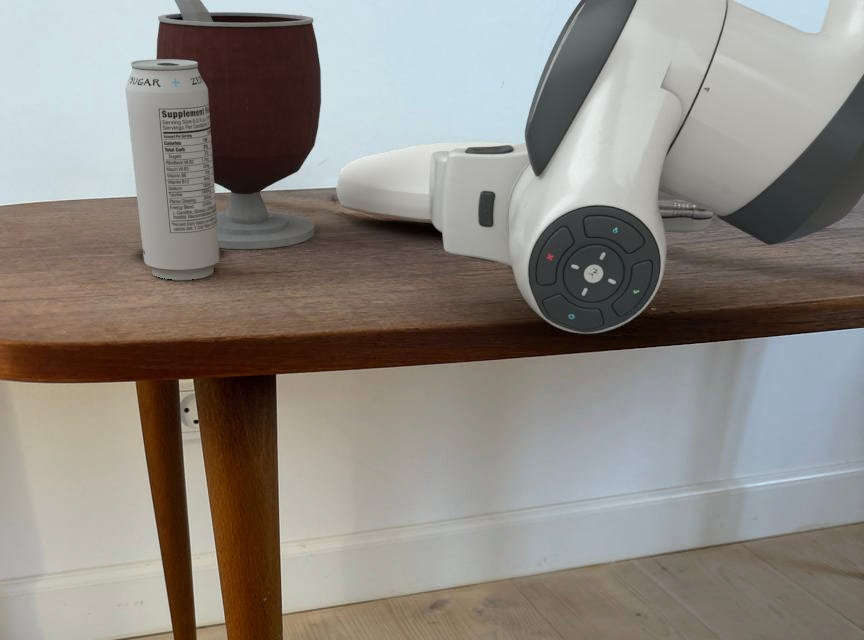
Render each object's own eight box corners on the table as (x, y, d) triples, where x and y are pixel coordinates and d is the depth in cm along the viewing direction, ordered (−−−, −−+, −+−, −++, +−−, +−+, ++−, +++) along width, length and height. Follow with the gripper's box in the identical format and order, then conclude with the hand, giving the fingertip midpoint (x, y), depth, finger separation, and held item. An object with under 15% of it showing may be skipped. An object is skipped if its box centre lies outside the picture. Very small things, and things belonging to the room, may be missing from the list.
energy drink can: (192, 258, 89) (175, 56, 81) (235, 273, 85) (222, 63, 77) (131, 270, 86) (106, 61, 77) (172, 286, 82) (151, 68, 74)
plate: (285, 171, 96) (403, 133, 117) (294, 245, 100) (407, 196, 120) (584, 164, 85) (657, 123, 106) (583, 248, 89) (653, 193, 109)
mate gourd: (352, 229, 99) (352, -23, 87) (257, 260, 89) (243, -19, 78) (227, 206, 106) (212, -29, 94) (126, 232, 96) (96, -27, 85)
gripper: (747, 160, 66) (711, 127, 78) (424, 151, 68) (435, 119, 79) (728, 263, 70) (696, 216, 81) (421, 252, 71) (432, 208, 83)
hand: (565, 168), depth 80 cm, fingers open, 8 cm apart
